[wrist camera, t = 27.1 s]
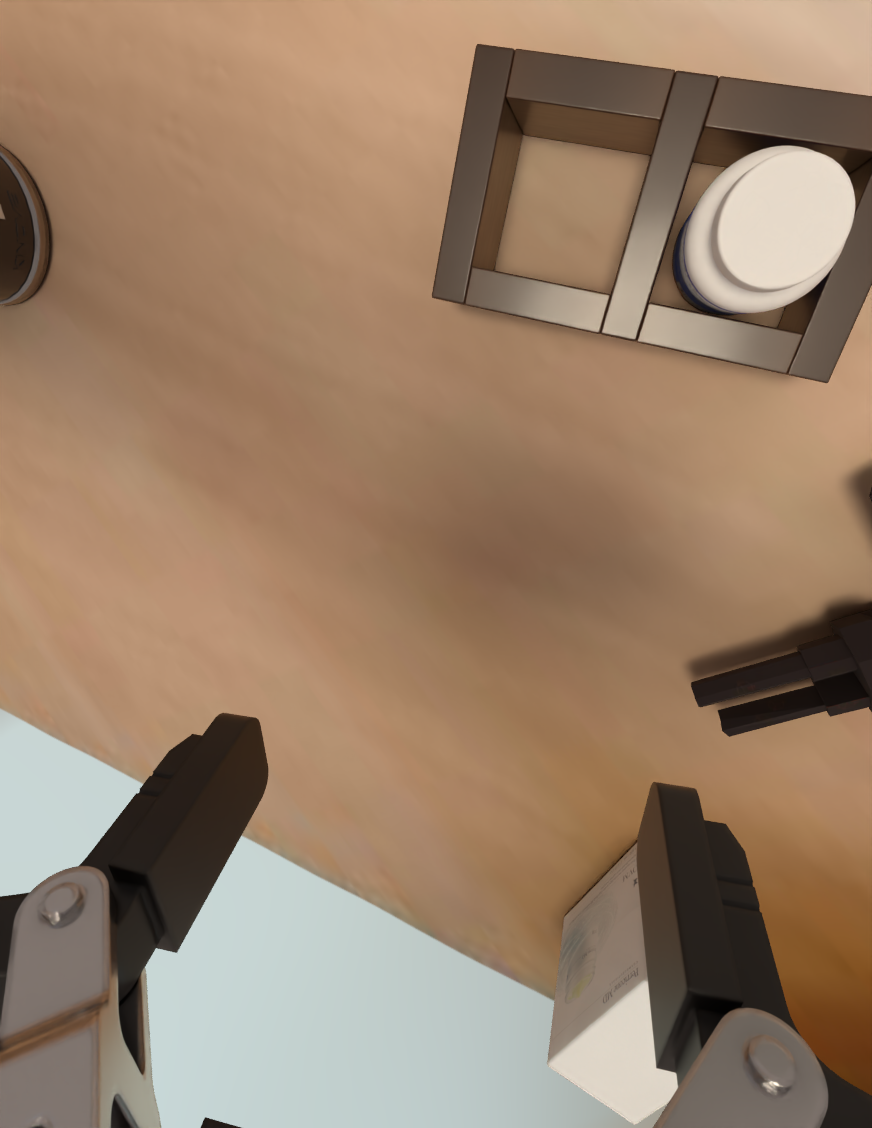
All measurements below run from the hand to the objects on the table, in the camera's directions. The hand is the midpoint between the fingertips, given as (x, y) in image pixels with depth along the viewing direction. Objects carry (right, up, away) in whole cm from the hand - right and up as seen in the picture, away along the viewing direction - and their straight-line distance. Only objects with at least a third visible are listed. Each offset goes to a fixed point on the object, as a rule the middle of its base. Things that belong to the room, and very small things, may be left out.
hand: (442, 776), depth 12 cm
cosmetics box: (+14, -19, +30) cm, 39 cm away
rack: (+10, +20, +16) cm, 28 cm away
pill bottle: (+14, +19, +16) cm, 28 cm away
